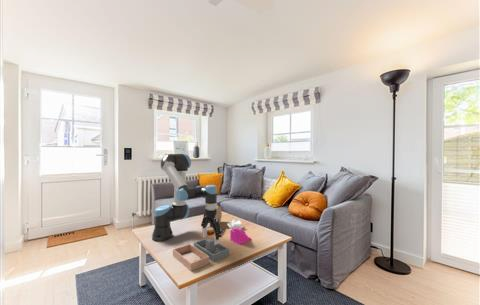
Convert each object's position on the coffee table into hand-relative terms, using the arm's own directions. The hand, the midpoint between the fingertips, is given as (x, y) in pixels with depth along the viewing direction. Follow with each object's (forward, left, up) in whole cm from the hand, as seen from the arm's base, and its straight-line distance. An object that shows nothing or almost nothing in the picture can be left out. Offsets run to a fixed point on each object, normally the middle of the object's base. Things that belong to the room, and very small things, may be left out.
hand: (210, 240), depth 141 cm
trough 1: (0, -15, -7) cm, 17 cm away
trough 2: (0, 0, -7) cm, 7 cm away
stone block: (0, 0, -7) cm, 7 cm away
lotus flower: (-20, +38, -8) cm, 44 cm away
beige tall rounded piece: (-41, +31, -7) cm, 52 cm away
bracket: (0, +27, -8) cm, 28 cm away
